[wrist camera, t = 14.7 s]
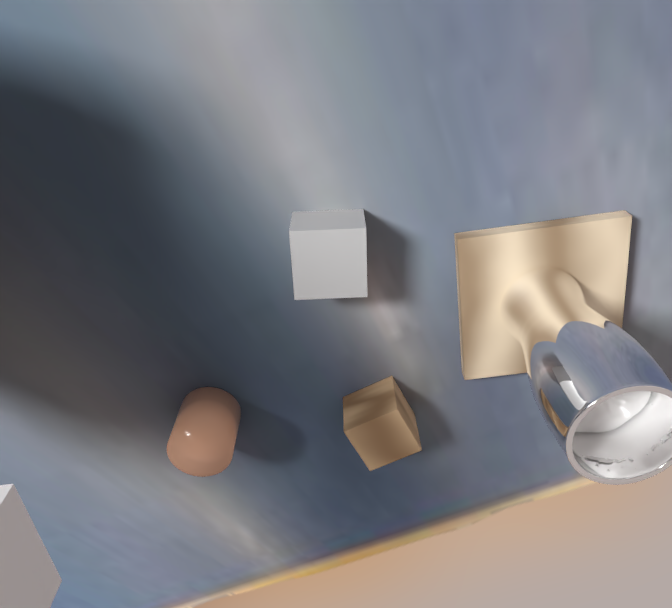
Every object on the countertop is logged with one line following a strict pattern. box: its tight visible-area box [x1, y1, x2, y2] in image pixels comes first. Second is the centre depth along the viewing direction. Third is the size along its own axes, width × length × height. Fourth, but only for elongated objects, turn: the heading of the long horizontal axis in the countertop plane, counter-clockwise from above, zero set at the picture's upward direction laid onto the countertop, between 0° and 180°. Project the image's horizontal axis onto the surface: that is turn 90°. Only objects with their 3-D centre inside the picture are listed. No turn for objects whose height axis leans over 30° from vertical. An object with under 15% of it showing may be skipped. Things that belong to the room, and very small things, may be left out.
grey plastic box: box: [289, 209, 367, 300], centre depth 42 cm, size 5×5×4 cm
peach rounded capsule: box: [167, 387, 241, 477], centre depth 48 cm, size 5×5×5 cm
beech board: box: [454, 210, 632, 380], centre depth 45 cm, size 12×12×1 cm
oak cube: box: [343, 376, 422, 471], centre depth 48 cm, size 4×4×4 cm
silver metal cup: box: [500, 268, 672, 485], centre depth 38 cm, size 7×7×15 cm
